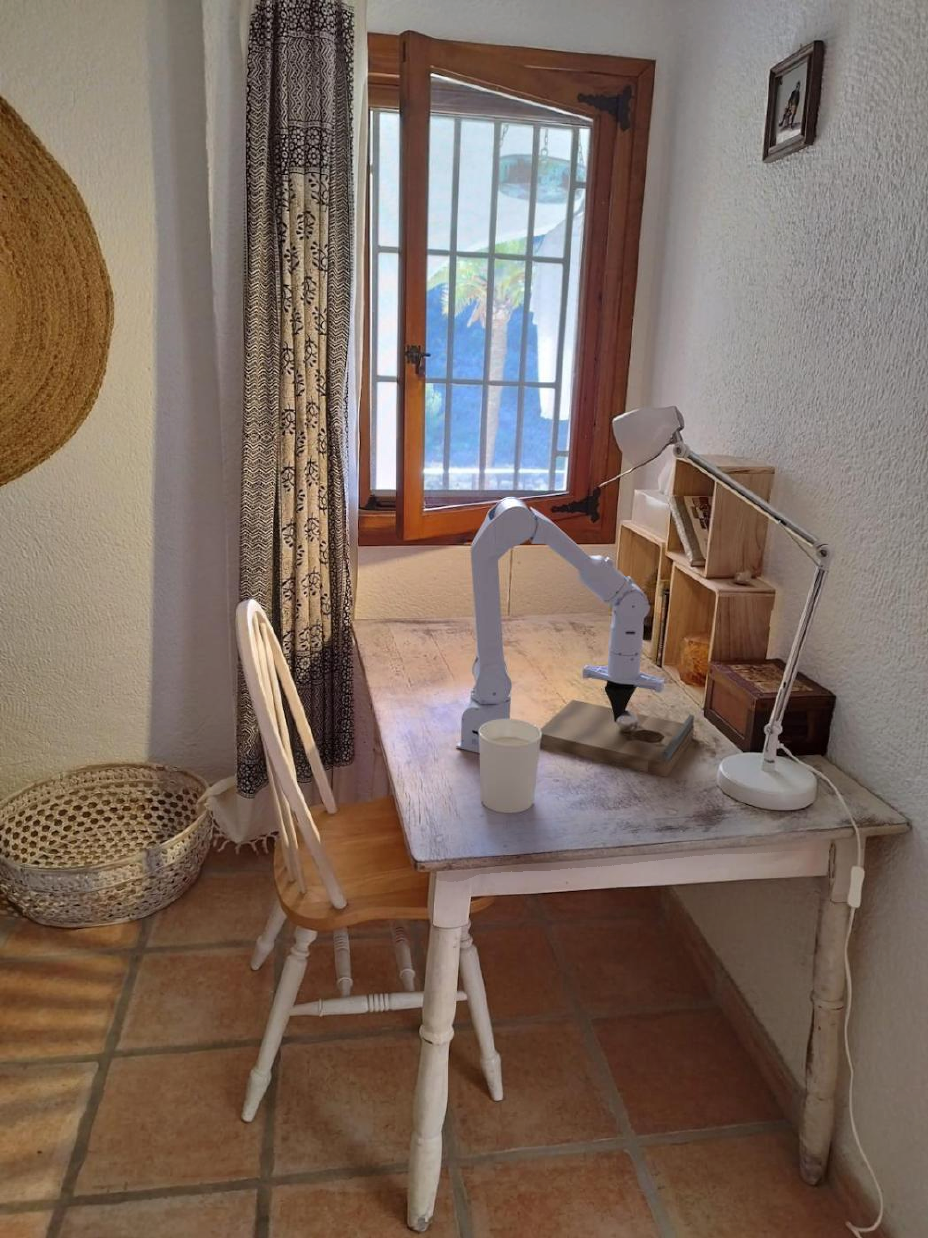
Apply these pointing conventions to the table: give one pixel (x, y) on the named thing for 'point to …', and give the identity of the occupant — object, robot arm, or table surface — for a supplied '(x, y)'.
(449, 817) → the table surface
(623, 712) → the ball
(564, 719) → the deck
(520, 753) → the candle holder
